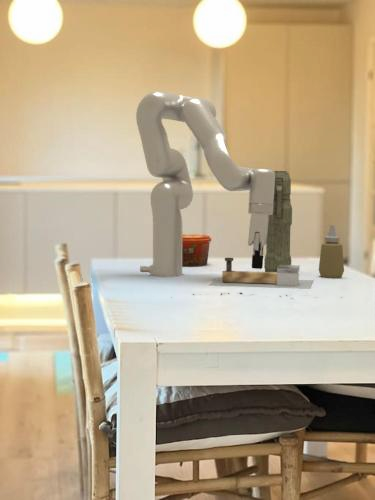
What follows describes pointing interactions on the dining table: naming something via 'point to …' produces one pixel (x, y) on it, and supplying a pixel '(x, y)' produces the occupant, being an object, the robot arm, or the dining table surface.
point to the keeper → (287, 275)
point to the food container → (195, 250)
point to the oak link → (247, 275)
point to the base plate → (261, 284)
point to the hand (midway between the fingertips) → (257, 268)
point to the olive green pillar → (279, 225)
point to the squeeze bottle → (331, 256)
